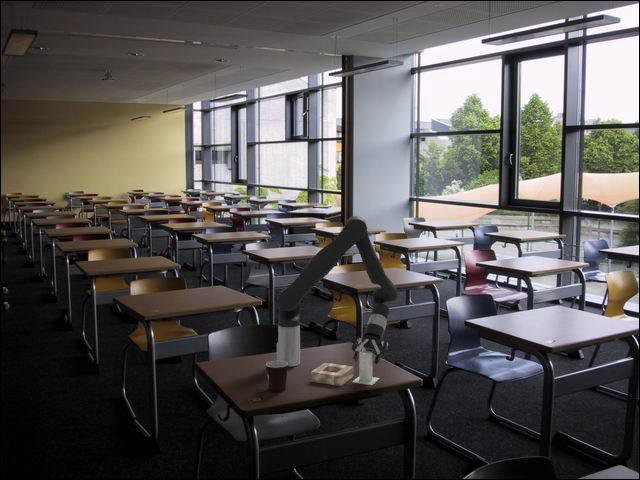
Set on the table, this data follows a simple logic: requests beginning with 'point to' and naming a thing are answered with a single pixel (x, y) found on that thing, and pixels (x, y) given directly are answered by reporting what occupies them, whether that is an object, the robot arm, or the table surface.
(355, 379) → the mat
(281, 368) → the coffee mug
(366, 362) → the white upright block
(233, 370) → the table surface
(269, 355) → the table surface
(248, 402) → the table surface
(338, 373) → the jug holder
